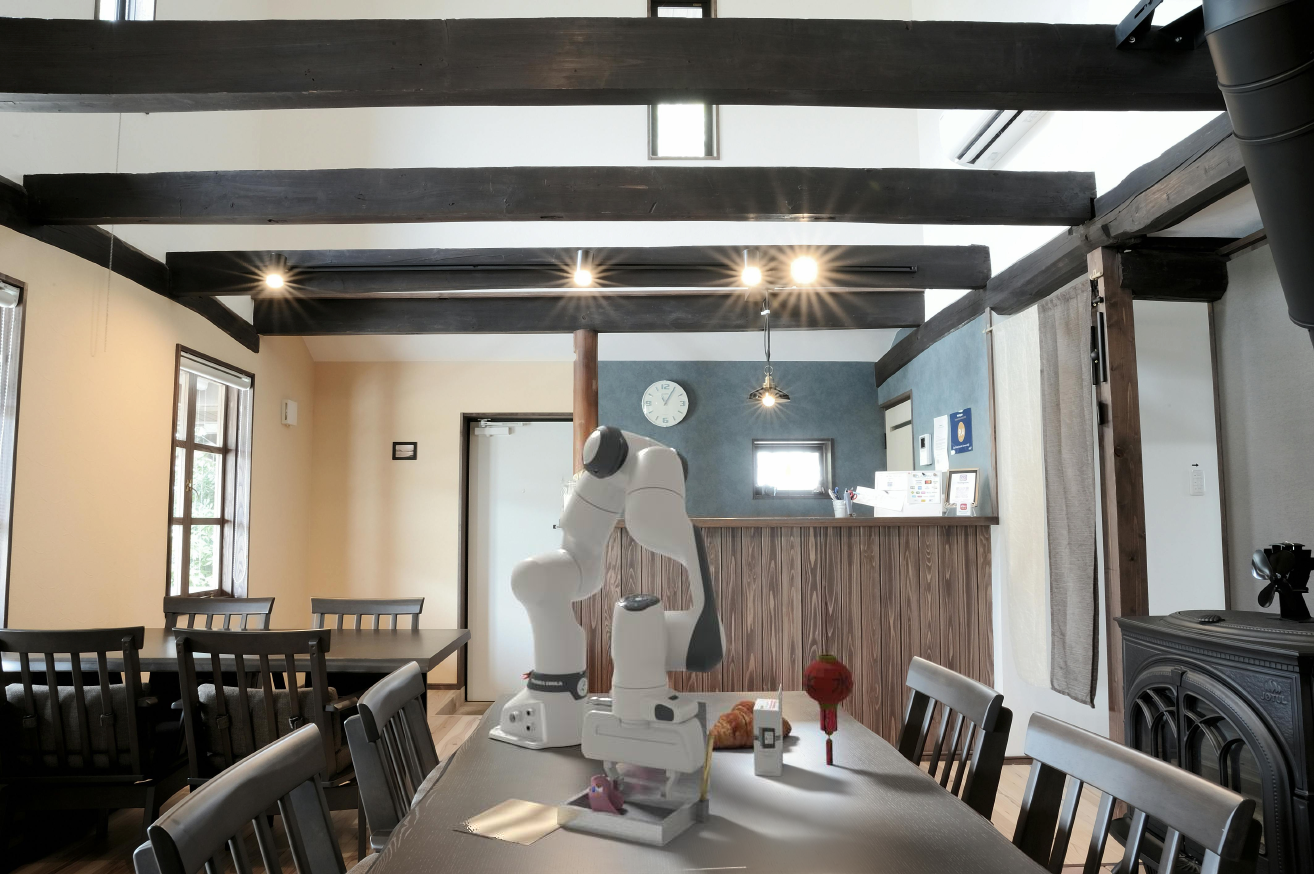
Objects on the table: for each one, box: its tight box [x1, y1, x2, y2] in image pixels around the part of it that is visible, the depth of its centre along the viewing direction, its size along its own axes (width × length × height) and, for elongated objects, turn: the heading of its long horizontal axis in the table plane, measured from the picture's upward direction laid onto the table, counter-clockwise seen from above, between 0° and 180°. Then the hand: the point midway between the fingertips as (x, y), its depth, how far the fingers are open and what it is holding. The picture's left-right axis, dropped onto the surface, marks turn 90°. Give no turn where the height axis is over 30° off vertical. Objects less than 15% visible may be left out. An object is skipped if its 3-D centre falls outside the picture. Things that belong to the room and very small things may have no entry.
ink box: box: [753, 683, 784, 777], centre depth 154 cm, size 9×5×15 cm, turn 168°
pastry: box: [709, 700, 793, 750], centre depth 172 cm, size 17×15×8 cm
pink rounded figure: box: [588, 773, 625, 815], centre depth 129 cm, size 10×5×7 cm, turn 2°
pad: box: [460, 797, 564, 847], centre depth 127 cm, size 14×14×1 cm
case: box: [556, 689, 714, 847], centre depth 129 cm, size 19×16×18 cm
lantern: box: [802, 601, 854, 766], centre depth 157 cm, size 10×10×30 cm
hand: (641, 793), depth 128 cm, fingers open, 7 cm apart
